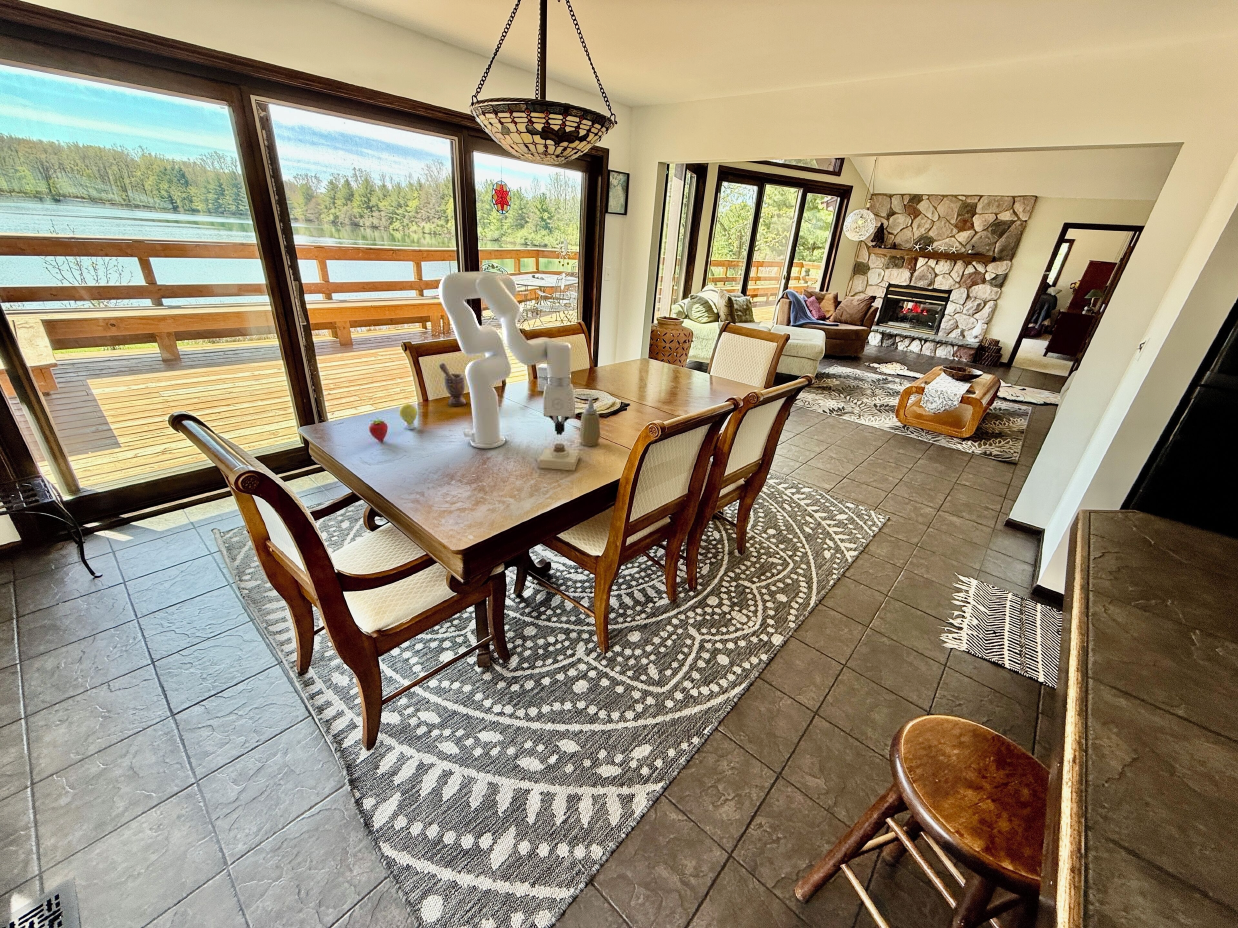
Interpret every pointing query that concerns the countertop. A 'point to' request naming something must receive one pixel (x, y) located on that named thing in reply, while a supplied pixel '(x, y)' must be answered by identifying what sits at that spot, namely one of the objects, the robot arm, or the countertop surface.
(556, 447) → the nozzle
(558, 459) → the beige push button box
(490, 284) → the robot arm
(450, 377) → the mortar and pestle
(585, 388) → the countertop surface
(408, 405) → the light bulb
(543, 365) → the white packaging box
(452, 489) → the countertop surface
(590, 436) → the squeeze bottle
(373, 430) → the strawberry
